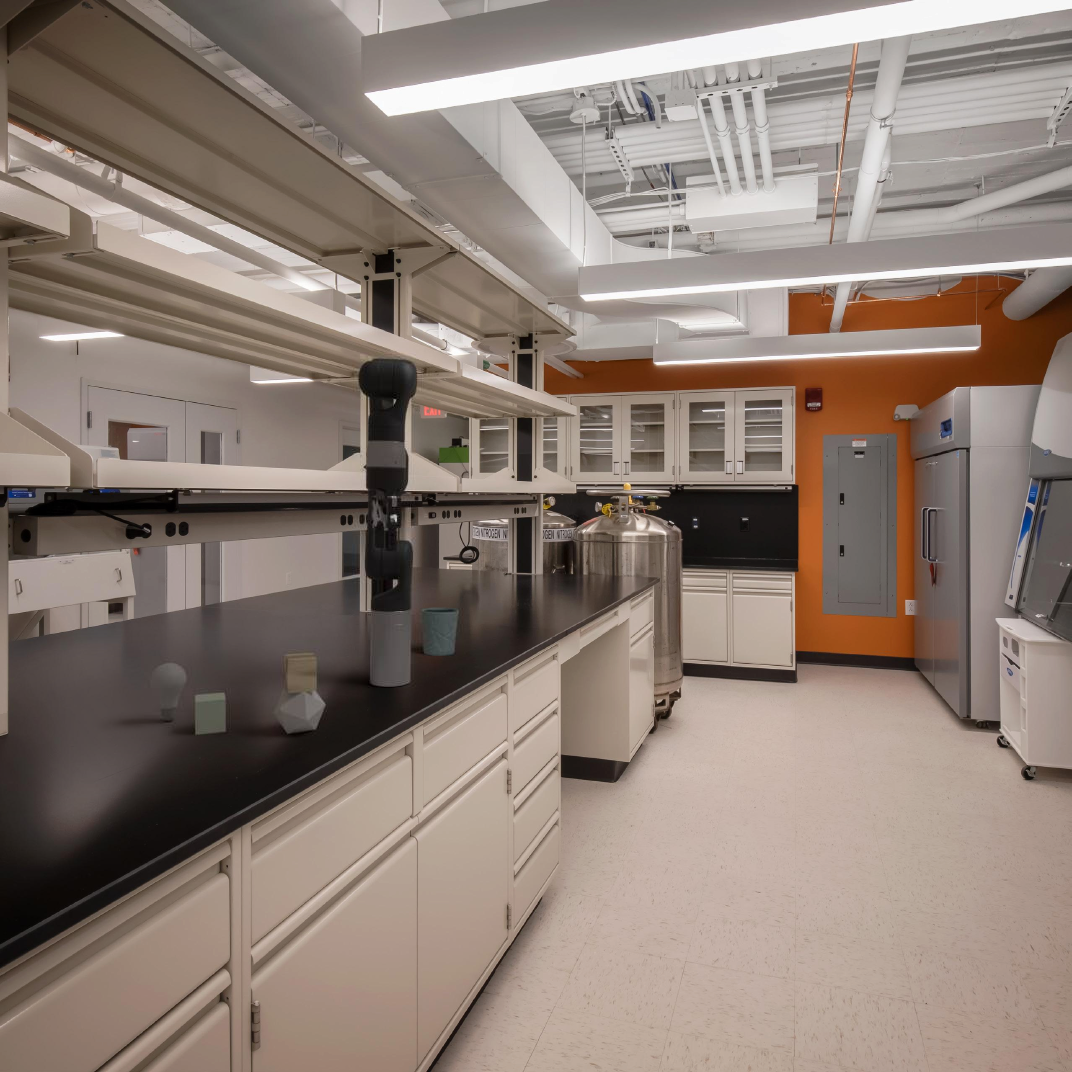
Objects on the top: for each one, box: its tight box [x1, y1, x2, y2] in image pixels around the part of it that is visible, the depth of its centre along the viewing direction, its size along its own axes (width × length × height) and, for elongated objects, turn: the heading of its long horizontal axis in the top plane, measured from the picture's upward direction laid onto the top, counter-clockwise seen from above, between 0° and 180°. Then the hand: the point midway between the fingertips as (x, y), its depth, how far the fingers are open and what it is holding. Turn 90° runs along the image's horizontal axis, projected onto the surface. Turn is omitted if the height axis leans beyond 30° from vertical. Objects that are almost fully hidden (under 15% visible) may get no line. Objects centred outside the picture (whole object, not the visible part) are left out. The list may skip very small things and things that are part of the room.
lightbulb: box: [149, 662, 187, 722], centre depth 140 cm, size 6×6×11 cm
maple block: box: [283, 652, 318, 693], centre depth 137 cm, size 5×5×6 cm
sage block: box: [194, 692, 227, 736], centre depth 136 cm, size 5×5×6 cm
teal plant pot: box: [421, 607, 459, 657], centre depth 207 cm, size 10×10×12 cm
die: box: [273, 687, 326, 734], centre depth 137 cm, size 8×9×10 cm
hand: (384, 549), depth 144 cm, fingers open, 8 cm apart
